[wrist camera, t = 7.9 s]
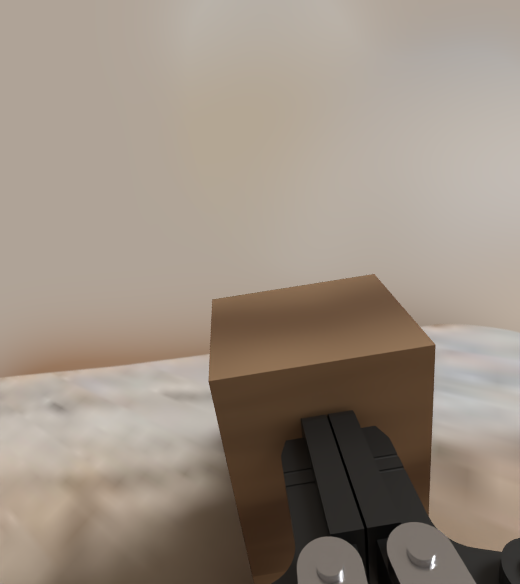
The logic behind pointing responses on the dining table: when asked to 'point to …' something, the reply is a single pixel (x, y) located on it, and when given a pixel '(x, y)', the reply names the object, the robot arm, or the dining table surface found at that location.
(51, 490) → the dining table surface
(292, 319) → the wooden rectangular block
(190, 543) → the dining table surface
